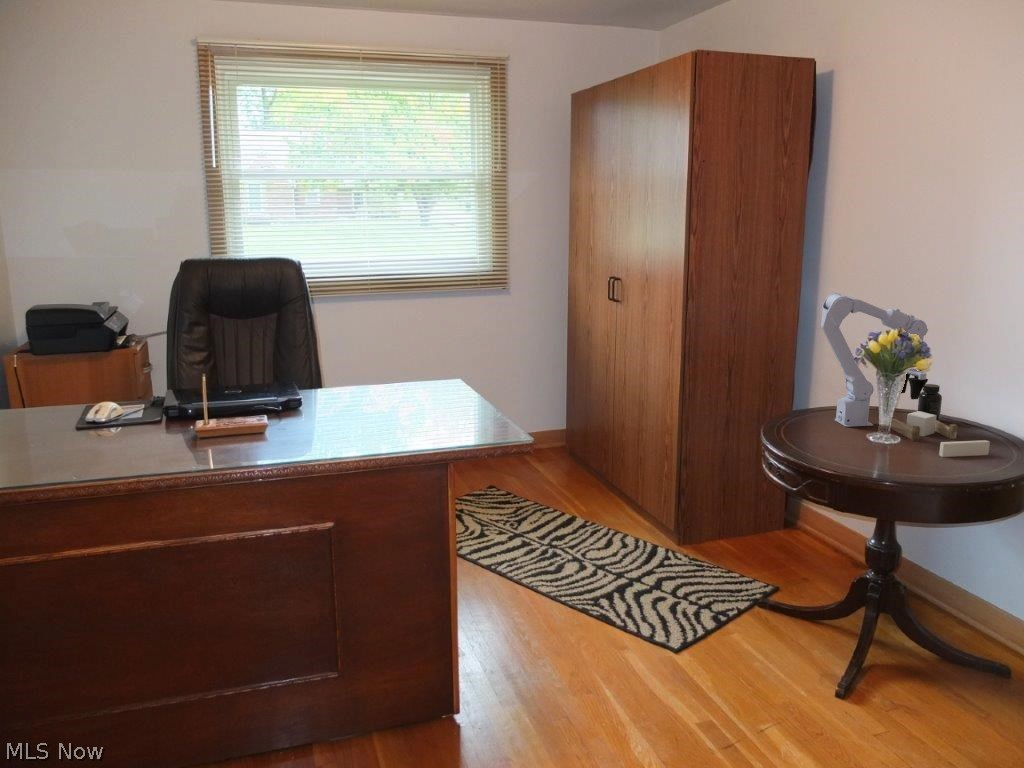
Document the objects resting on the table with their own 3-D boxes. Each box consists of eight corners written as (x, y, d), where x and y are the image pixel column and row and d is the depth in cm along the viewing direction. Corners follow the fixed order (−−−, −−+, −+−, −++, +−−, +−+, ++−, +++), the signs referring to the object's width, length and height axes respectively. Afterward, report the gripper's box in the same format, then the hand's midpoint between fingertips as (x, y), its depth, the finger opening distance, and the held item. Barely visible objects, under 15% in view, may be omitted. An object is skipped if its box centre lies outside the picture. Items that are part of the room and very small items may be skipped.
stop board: (942, 456, 229) (943, 443, 228) (939, 455, 231) (940, 442, 230) (988, 454, 230) (989, 441, 229) (984, 453, 232) (986, 440, 231)
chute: (913, 440, 244) (915, 427, 243) (889, 427, 257) (890, 414, 256) (955, 439, 245) (957, 425, 244) (929, 425, 258) (930, 412, 257)
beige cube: (923, 436, 248) (925, 418, 246) (905, 432, 253) (907, 414, 251) (934, 433, 251) (936, 415, 249) (916, 428, 256) (918, 410, 254)
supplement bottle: (940, 419, 265) (944, 384, 262) (938, 424, 260) (942, 389, 257) (917, 416, 269) (921, 382, 266) (915, 421, 263) (919, 386, 260)
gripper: (937, 359, 248) (932, 401, 251) (911, 350, 262) (907, 389, 265) (915, 360, 248) (911, 402, 251) (890, 351, 262) (886, 390, 265)
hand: (907, 396), depth 258 cm, fingers open, 7 cm apart
